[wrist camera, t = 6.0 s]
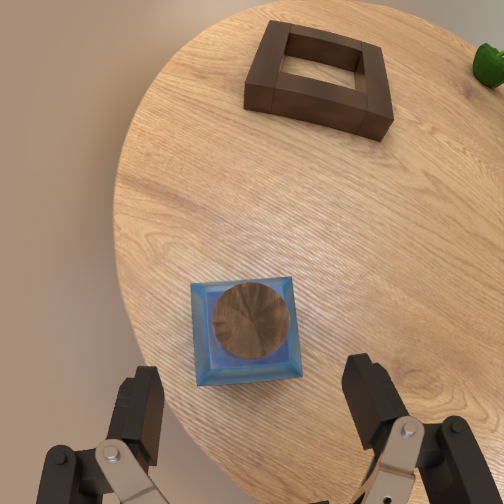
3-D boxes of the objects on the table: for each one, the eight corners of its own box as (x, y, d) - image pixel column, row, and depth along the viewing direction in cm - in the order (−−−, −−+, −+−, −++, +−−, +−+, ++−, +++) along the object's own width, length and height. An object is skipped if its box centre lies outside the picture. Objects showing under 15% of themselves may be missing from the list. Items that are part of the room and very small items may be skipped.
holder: (243, 109, 31) (244, 82, 28) (267, 41, 37) (269, 19, 33) (380, 142, 31) (394, 119, 27) (372, 67, 36) (381, 47, 33)
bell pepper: (460, 66, 41) (481, 33, 32) (474, 64, 43) (493, 34, 34) (490, 96, 39) (514, 64, 30) (501, 91, 41) (523, 63, 31)
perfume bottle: (285, 371, 23) (332, 384, 12) (206, 378, 22) (180, 399, 11) (277, 295, 25) (314, 242, 14) (200, 301, 24) (172, 252, 13)
